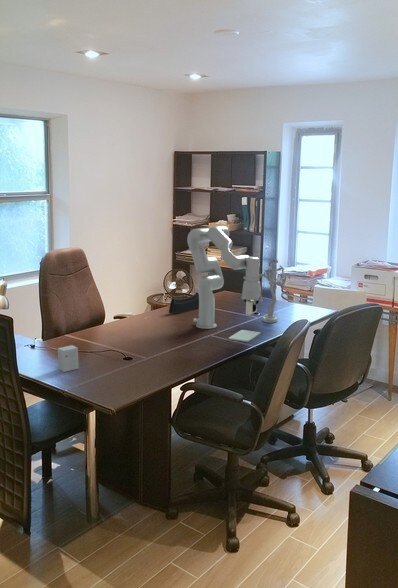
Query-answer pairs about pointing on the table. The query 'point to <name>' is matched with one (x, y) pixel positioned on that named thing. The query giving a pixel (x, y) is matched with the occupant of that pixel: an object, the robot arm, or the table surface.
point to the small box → (68, 358)
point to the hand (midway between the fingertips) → (251, 310)
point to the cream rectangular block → (250, 307)
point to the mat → (244, 335)
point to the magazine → (184, 304)
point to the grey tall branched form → (273, 282)
